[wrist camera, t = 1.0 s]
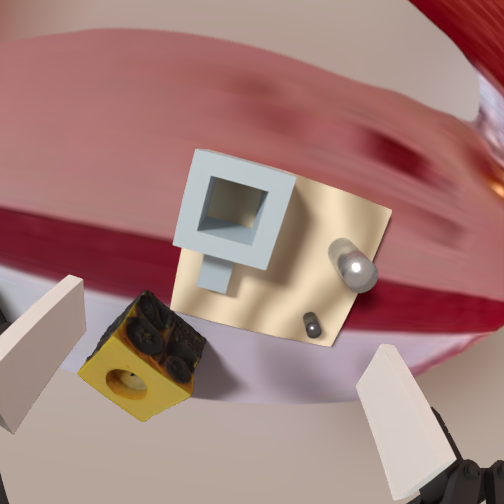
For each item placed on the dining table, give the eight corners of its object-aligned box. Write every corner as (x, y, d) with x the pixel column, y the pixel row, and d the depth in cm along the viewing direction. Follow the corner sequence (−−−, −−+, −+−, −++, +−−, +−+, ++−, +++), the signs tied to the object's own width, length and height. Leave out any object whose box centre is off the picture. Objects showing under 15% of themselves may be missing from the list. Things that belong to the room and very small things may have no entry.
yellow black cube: (207, 338, 35) (196, 396, 26) (161, 372, 37) (144, 425, 28) (146, 285, 32) (113, 333, 23) (106, 328, 35) (75, 375, 25)
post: (323, 260, 30) (340, 288, 24) (333, 234, 29) (354, 257, 23) (348, 267, 30) (369, 296, 24) (358, 242, 29) (383, 266, 23)
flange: (206, 149, 26) (195, 149, 21) (287, 172, 27) (296, 177, 21) (177, 271, 30) (163, 295, 25) (249, 290, 31) (249, 318, 26)
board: (173, 302, 33) (170, 309, 32) (208, 149, 27) (206, 149, 26) (328, 339, 35) (330, 346, 34) (385, 207, 29) (392, 210, 28)
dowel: (300, 321, 32) (304, 337, 29) (305, 310, 32) (310, 325, 29) (313, 324, 32) (318, 339, 30) (318, 313, 32) (324, 328, 29)
